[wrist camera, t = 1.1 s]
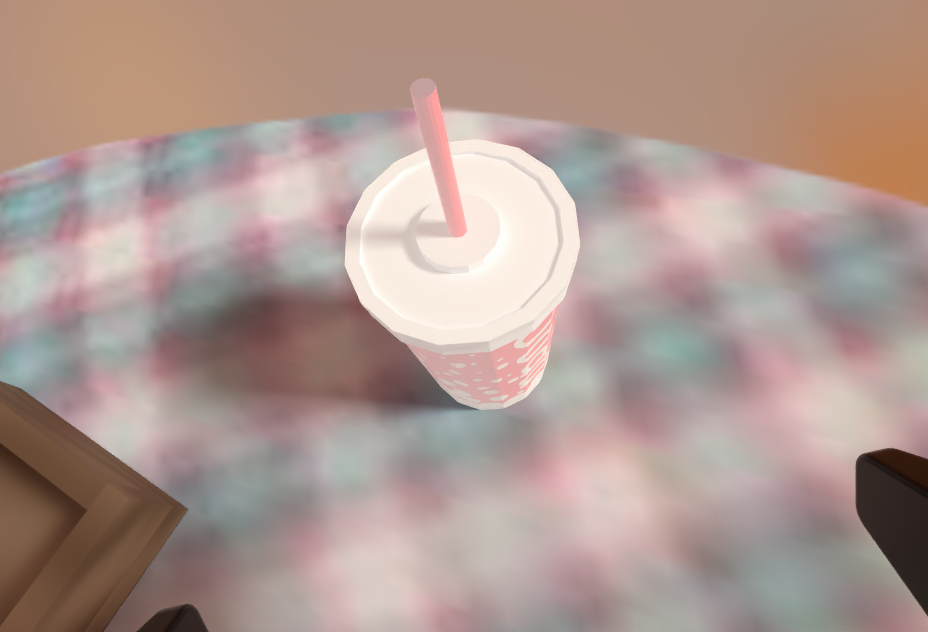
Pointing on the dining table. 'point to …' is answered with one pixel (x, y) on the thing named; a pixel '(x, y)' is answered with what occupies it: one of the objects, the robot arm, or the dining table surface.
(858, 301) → the dining table surface
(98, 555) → the wooden compartment tray
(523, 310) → the beverage cup
